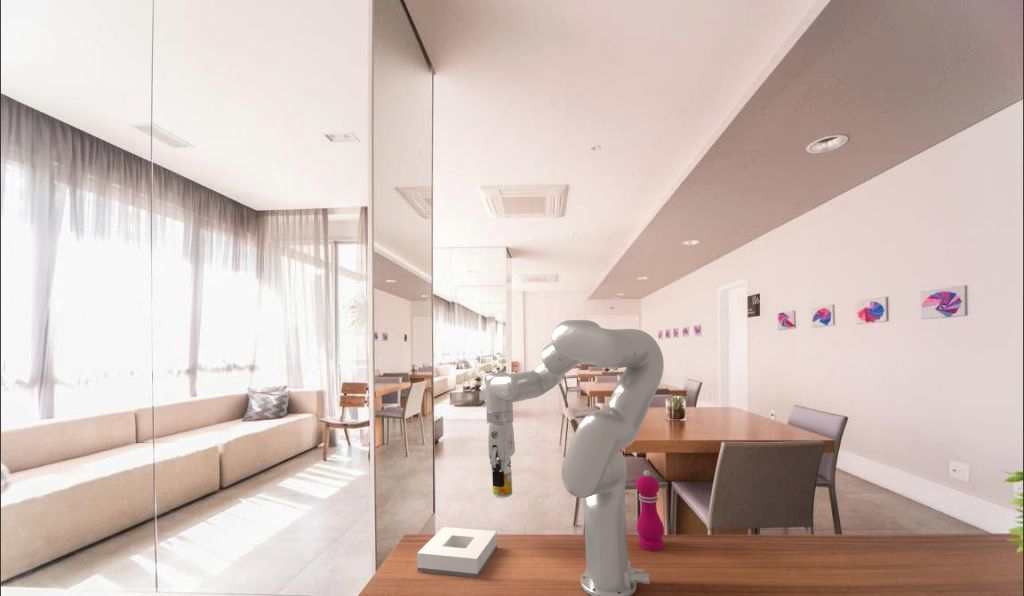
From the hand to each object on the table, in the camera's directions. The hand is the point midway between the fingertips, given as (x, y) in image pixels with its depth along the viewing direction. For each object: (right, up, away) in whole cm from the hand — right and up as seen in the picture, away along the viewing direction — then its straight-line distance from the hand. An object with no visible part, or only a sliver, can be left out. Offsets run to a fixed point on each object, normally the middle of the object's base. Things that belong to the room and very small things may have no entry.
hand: (502, 482), depth 128 cm
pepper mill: (+41, -16, -4) cm, 44 cm away
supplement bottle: (0, -4, 0) cm, 4 cm away
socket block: (-11, -17, -8) cm, 22 cm away
